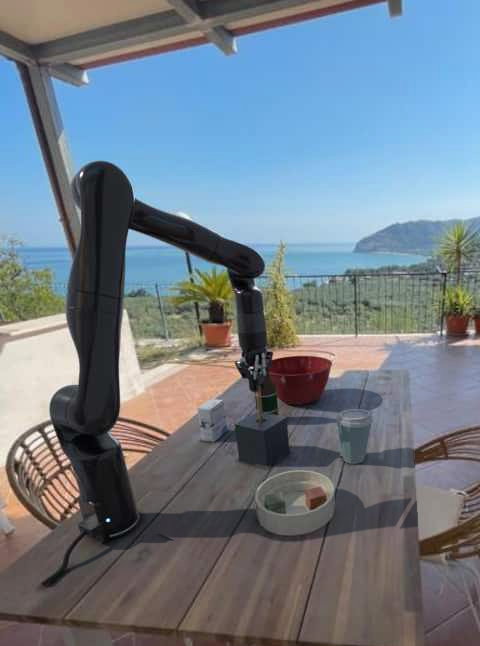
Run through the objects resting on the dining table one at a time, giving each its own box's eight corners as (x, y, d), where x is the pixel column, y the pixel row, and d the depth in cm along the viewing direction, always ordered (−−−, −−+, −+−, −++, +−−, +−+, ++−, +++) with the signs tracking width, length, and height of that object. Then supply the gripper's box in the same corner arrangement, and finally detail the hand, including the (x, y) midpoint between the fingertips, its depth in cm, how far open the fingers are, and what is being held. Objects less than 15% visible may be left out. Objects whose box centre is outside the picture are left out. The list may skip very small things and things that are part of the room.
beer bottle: (253, 423, 140) (246, 358, 132) (264, 415, 147) (258, 353, 138) (272, 426, 138) (266, 360, 129) (282, 417, 145) (278, 355, 136)
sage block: (268, 519, 89) (267, 505, 87) (266, 509, 92) (264, 495, 91) (286, 515, 90) (285, 501, 89) (282, 505, 94) (281, 491, 92)
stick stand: (267, 469, 111) (264, 431, 107) (239, 460, 115) (234, 424, 111) (289, 452, 120) (286, 417, 116) (262, 445, 124) (258, 411, 120)
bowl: (308, 548, 81) (306, 525, 79) (240, 523, 89) (237, 501, 87) (348, 501, 97) (347, 480, 95) (287, 483, 104) (286, 464, 102)
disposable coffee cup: (329, 458, 117) (328, 412, 111) (355, 446, 124) (354, 402, 118) (354, 471, 110) (354, 423, 104) (379, 458, 117) (380, 412, 111)
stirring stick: (263, 443, 114) (257, 374, 106) (256, 441, 115) (249, 373, 107) (269, 439, 116) (263, 372, 109) (262, 437, 117) (256, 371, 110)
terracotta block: (310, 513, 91) (309, 499, 90) (305, 504, 94) (304, 490, 93) (326, 509, 93) (326, 495, 91) (321, 499, 96) (320, 486, 94)
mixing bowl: (253, 410, 151) (249, 372, 146) (278, 386, 178) (275, 353, 172) (324, 414, 148) (323, 375, 142) (338, 389, 174) (338, 356, 168)
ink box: (215, 429, 135) (210, 398, 131) (228, 431, 134) (224, 399, 130) (201, 440, 127) (195, 407, 123) (215, 442, 126) (210, 409, 122)
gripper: (257, 323, 111) (263, 381, 117) (222, 332, 99) (230, 395, 105) (279, 325, 108) (283, 384, 114) (245, 335, 96) (252, 400, 102)
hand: (258, 389), depth 110 cm, fingers closed on stirring stick, 2 cm apart
